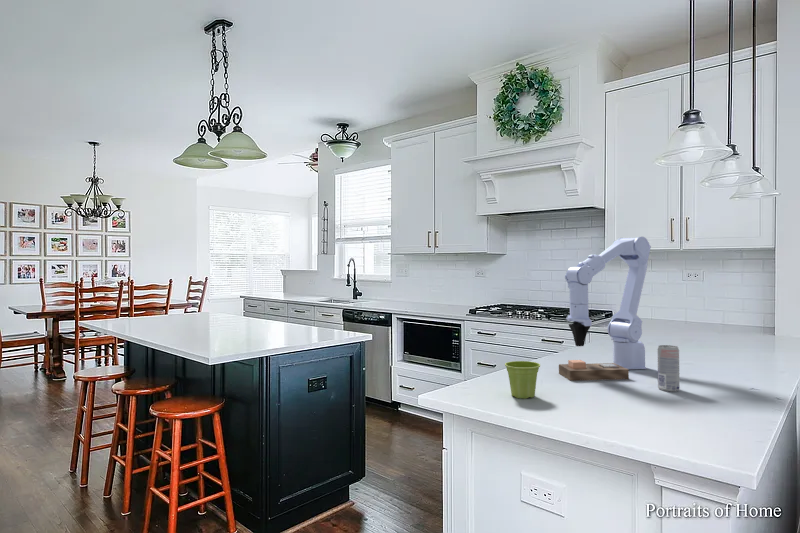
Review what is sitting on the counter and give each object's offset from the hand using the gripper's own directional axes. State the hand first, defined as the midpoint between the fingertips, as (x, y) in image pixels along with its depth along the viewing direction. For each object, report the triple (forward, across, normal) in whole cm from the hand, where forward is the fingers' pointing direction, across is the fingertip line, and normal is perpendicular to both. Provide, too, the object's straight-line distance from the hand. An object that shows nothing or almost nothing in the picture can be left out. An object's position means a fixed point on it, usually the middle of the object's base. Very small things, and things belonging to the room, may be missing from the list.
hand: (579, 345), depth 167 cm
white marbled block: (+8, +5, +7) cm, 12 cm away
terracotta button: (+7, +5, -3) cm, 9 cm away
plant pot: (+9, +26, -26) cm, 38 cm away
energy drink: (+9, +23, +16) cm, 29 cm away
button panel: (+9, +5, +2) cm, 10 cm away
